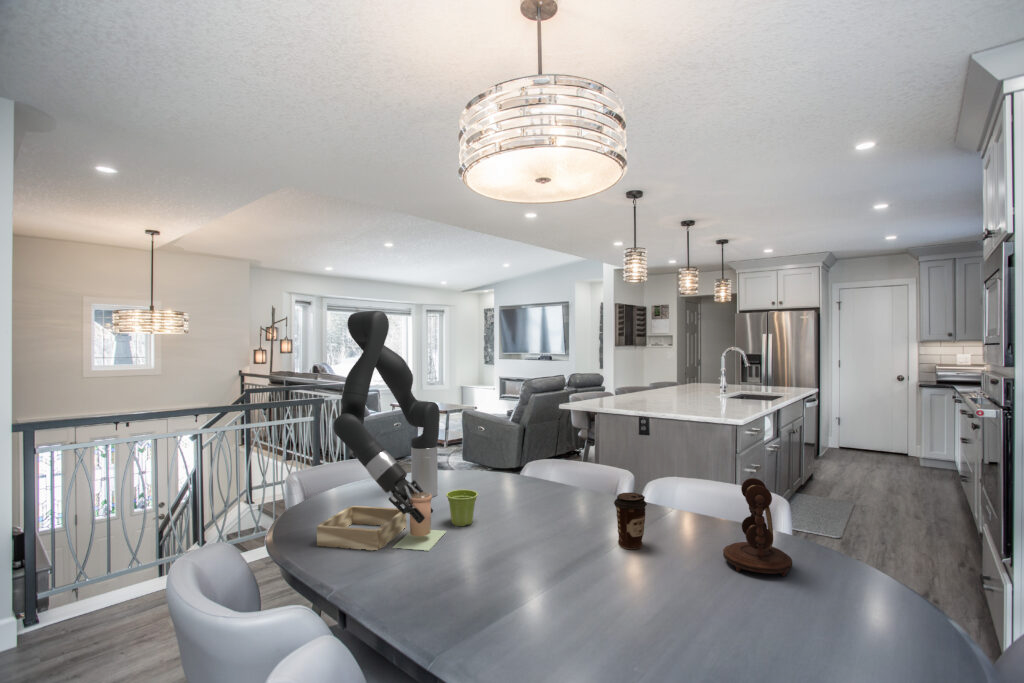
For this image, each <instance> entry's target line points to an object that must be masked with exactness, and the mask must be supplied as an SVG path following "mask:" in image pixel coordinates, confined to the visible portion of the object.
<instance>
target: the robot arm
mask: <svg viewBox="0 0 1024 683" xmlns="http://www.w3.org/2000/svg"><path fill="white" fill-rule="evenodd" d="M347 319H348V320H347V323H346V324H347V330H348V332H349V335H350V336H351V338H352V340H354V342H355V344H356V345H357V346H358V348H360V349H361V351H362V353H361V355H360V356H359V358H358V359H357V361H356V362H355V363H354V365H353V366H352V367H351V369H350V370H349V372H348V374H347V376H346V379H345V382H344V386H343V390H342V395H341V406H342V407H341V412H340V413H341V414H340V415H338V416H337V417H336V418H335V419H334V422H333V432H334V434H335V435H336V436H337V437H338V438H339V439H340V440H341V442H342V443H344V444H345V446H346V447H348V449H350V451H351V452H352V453H353V454H354V456H355V457H356V459H357V460H358V461H359V462H360V464H361V465H362V466H363V467H364V468H365V469H366V470H367V472H368V474H369V475H370V476H371V477H372V479H373V480H374V481H375V482H376V483H377V484H378V485H379V487H380V488H381V490H383V492H385V493H386V494H387V493H391V495H390V496H389V498H388V501H389V502H390V503H391V504H392V505H393V506H394V507H396V508H397V509H399V510H400V511H401V512H402V513H403V514H405V513H406V514H407V515H410V514H411V516H412V517H413V518H414V519H415V520H416V521H417V522H418V523H421V522H422V521H423V520H424V519H425V517H424V516H423V514H422V513H421V512H420V511H419V510H418V509H417V508H415V505H414V503H412V496H411V495H412V494H414V493H430V494H431V495H432V498H434V497H436V496H438V494H439V493H438V489H439V486H438V485H439V481H438V480H439V479H438V478H439V476H438V473H439V472H438V465H439V464H438V442H439V436H440V420H441V419H440V417H441V416H440V414H441V413H440V408H439V405H438V403H437V402H435V401H425V400H423V401H422V400H418V399H416V397H415V396H414V394H413V392H412V389H413V383H414V375H413V373H412V370H411V368H410V367H409V366H408V363H407V361H405V359H404V358H403V356H401V355H399V354H398V353H397V352H395V351H393V349H391V348H389V347H387V345H385V343H386V340H387V338H388V337H387V336H388V334H389V329H390V322H389V318H388V316H387V315H386V313H385V312H384V311H381V310H365V311H357V312H354V313H352V314H350V315H349V317H348V318H347ZM375 370H376V371H377V372H378V374H379V375H380V378H382V380H383V382H384V383H385V385H386V387H388V389H389V390H390V392H391V394H392V396H393V397H394V399H395V400H396V402H397V403H398V406H399V408H400V410H401V412H402V414H403V417H404V418H405V420H406V421H407V423H408V424H409V425H410V426H412V427H414V428H415V427H416V428H423V429H422V434H420V435H418V436H415V437H413V438H412V439H411V442H410V448H411V449H410V451H411V452H410V456H411V458H410V461H411V463H410V465H411V468H410V469H411V470H410V471H411V472H410V480H411V482H410V481H408V480H407V476H408V473H407V471H406V470H405V469H404V468H403V467H402V466H401V465H400V463H399V462H398V461H397V460H396V459H395V458H394V457H393V456H392V454H390V453H389V452H388V451H387V450H386V449H385V448H384V447H383V445H381V443H380V442H379V441H378V440H376V438H374V437H373V435H371V434H370V432H369V431H368V429H367V428H366V427H365V426H364V422H365V414H366V413H365V412H366V404H367V402H368V397H369V392H370V387H371V381H372V379H373V375H374V371H375ZM433 512H434V509H433V508H432V507H431V514H432V513H433Z"/></svg>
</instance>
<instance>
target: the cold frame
mask: <svg viewBox="0 0 1024 683" xmlns="http://www.w3.org/2000/svg"><path fill="white" fill-rule="evenodd" d="M352 523H354V524H352ZM355 523H356V524H355ZM351 524H352V525H362V524H371V525H370V526H376V525H382V526H378V528H377V529H374V528H373V529H372V528H361V527H360V528H359V527H350V526H352V525H351ZM349 525H350V526H349ZM348 526H349V527H348ZM404 528H405V529H407V513H405V514H403V513H402V512H401V511H400V510H399V509H398V508H394V507H380V506H379V507H378V506H363V505H362V506H361V505H352V506H348V507H346V508H344V509H342V510H341V511H339V512H338V513H336V514H333V515H332V516H331V517H329V518H327V519H326V520H324V521H323V522H321V523H319V524H317V526H316V546H317V547H325V546H326V547H327V548H337V547H340V549H349V548H351V549H352V550H353V549H354V550H361V549H366V550H365V551H373V550H377V551H378V550H382V549H383V548H384V547H386V546H387V545H388V544H389V543H390V542H391V541H392V540H393V538H394V537H395V536H396V535H397V534H398V533H400V532H401V531H402V530H403V529H404ZM405 529H404V530H405ZM404 530H403V531H404ZM403 531H402V532H403ZM402 532H401V533H402ZM401 533H400V534H401ZM398 535H399V534H398ZM398 535H397V536H398ZM397 536H396V537H397ZM396 537H395V538H396ZM395 538H394V539H395ZM391 539H392V540H391ZM390 540H391V541H390ZM389 541H390V542H389ZM388 542H389V543H388ZM387 543H388V544H387ZM383 546H384V547H383ZM326 547H325V548H326ZM382 547H383V548H382ZM381 548H382V549H381ZM351 549H350V550H351Z"/></svg>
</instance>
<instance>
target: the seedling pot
mask: <svg viewBox="0 0 1024 683" xmlns="http://www.w3.org/2000/svg"><path fill="white" fill-rule="evenodd" d="M411 496H412V503H414V505H415V508H417V509H418V510H419V511H420V512H421V513H422V514H423V516H424V517H425V519H424V520H423V521H422V522H421V523H418V522H417V521H416V520H415V519H414V518H413V517H412V516H411V514H409V532H410V534H411V535H413V536H425V535H428V534H430V533H431V530H432V513H431V508H432V499H433V497H432V495H431V494H430V493H414V494H412V495H411Z"/></svg>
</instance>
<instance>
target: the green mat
mask: <svg viewBox="0 0 1024 683" xmlns="http://www.w3.org/2000/svg"><path fill="white" fill-rule="evenodd" d="M447 532H448V531H447V530H441V529H440V530H439V529H431V533H430V534H428V535H425V536H413V535H411V534H410V531H409V532H408V533H407V534H406V535H405V536H404V537H403V538H401V539H400V540H399V541H398V542H397V543H396V544H395V545H394V546H392V549H393V548H402V549H401V550H405V549H413V550H412V551H418V550H424V551H423V552H430V551H431V550H432V548H434V547H435V546H436V544H438V543H439V541H440V540H441V539H442V538H443V537H444V536H443V535H444V534H445V533H446V534H447ZM446 534H445V535H446ZM442 536H443V537H442ZM441 537H442V538H441ZM440 538H441V539H440ZM439 539H440V540H439ZM438 540H439V541H438ZM430 549H431V550H430ZM429 550H430V551H429Z"/></svg>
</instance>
